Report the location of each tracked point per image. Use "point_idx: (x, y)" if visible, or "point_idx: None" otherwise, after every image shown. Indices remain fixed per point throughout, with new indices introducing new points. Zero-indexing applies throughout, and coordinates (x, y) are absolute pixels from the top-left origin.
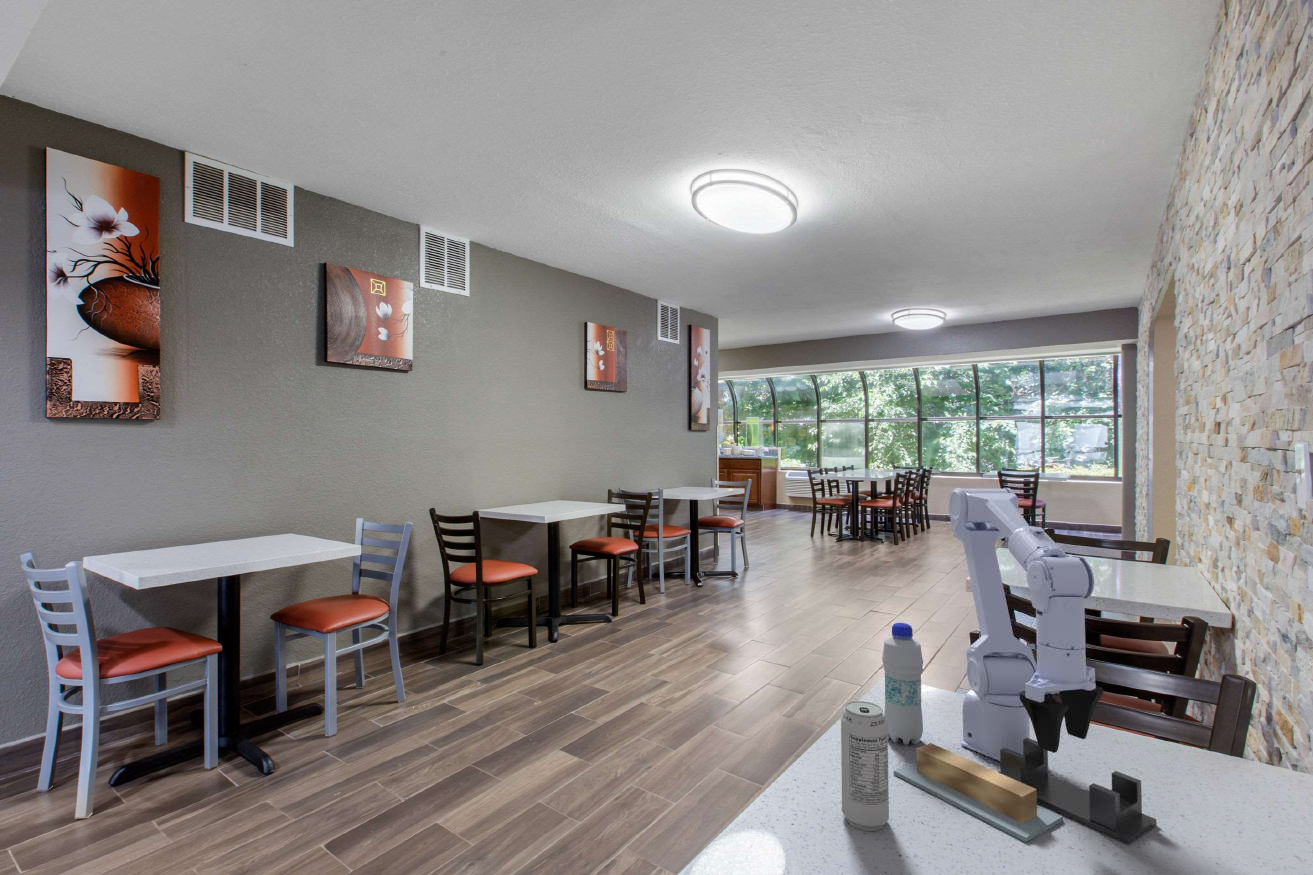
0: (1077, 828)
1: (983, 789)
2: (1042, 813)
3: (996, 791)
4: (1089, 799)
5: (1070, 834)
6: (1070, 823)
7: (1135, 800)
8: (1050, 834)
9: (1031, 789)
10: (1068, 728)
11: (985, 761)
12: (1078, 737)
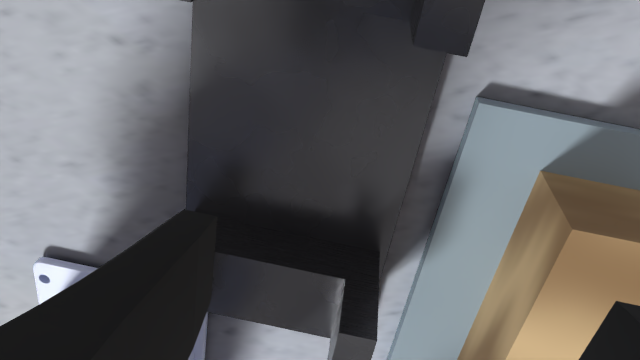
0: (499, 41)
1: None
2: (508, 160)
3: None
4: (261, 60)
5: (570, 49)
6: (475, 71)
7: None
8: (621, 103)
9: (587, 242)
10: (198, 326)
11: (237, 354)
12: (214, 244)
